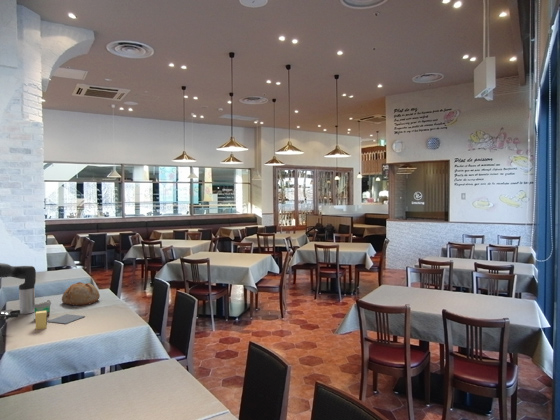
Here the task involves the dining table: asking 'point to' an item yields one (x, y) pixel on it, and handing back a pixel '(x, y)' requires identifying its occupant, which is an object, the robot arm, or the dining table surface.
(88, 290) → the bread
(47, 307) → the food container
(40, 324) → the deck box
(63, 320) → the mat
